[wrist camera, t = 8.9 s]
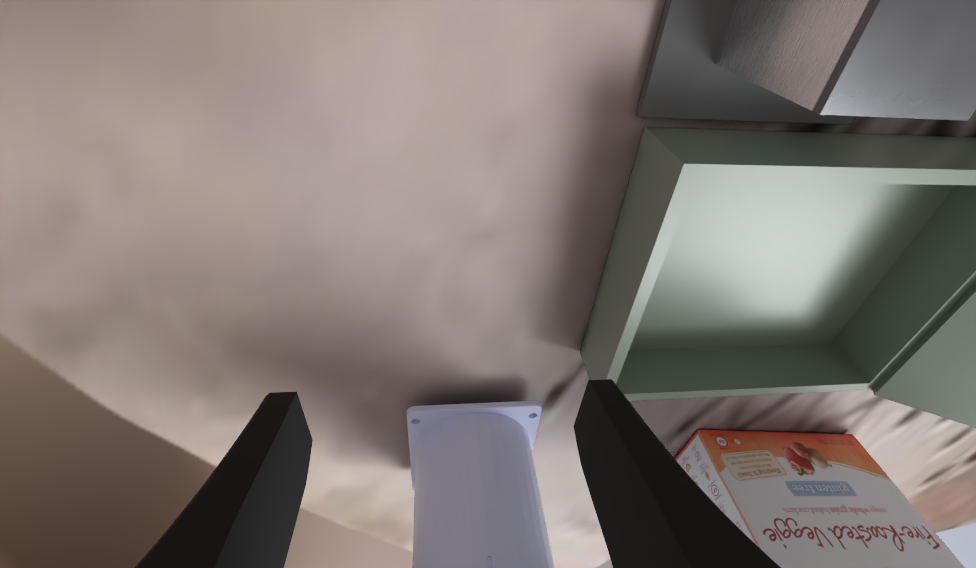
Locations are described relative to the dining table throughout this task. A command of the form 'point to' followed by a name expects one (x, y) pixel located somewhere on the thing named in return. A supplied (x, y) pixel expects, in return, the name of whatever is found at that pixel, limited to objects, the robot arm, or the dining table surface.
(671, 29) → the pad
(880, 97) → the block
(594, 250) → the dining table surface
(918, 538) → the cracker box
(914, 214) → the case
